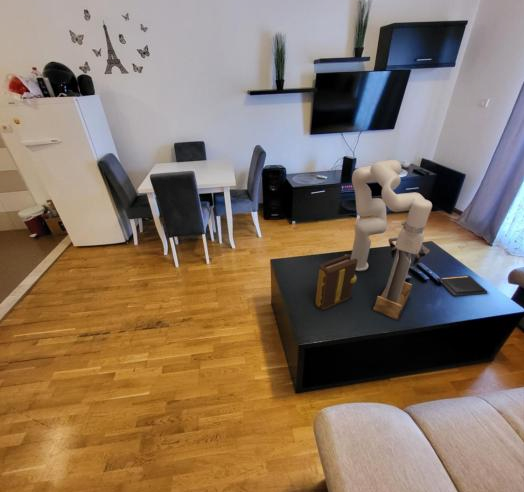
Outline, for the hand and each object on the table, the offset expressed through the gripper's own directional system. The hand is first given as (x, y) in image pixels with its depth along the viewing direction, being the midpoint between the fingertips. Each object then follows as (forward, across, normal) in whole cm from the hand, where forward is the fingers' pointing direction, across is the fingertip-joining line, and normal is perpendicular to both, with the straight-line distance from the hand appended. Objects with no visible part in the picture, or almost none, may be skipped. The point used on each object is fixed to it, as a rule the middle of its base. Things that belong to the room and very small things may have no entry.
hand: (403, 259), depth 130 cm
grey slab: (+27, 0, 0) cm, 27 cm away
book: (+28, -24, -15) cm, 40 cm away
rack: (+28, +1, 0) cm, 28 cm away
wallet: (+28, +28, +37) cm, 54 cm away
